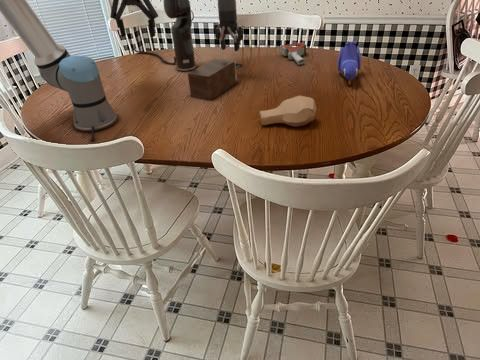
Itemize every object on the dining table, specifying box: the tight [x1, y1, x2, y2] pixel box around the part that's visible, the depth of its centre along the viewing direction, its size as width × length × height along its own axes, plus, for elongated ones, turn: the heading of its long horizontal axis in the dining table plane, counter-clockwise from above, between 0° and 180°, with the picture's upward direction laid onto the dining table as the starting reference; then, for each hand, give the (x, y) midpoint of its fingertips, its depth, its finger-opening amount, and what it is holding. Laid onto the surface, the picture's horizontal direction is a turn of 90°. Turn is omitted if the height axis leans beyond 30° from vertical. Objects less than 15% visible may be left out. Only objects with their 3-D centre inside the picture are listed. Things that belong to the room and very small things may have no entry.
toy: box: [336, 40, 362, 86], centre depth 151 cm, size 10×17×25 cm
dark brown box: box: [187, 58, 237, 101], centre depth 151 cm, size 20×10×10 cm, turn 150°
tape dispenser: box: [279, 42, 307, 66], centre depth 180 cm, size 18×5×20 cm
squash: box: [258, 94, 318, 128], centre depth 122 cm, size 11×20×9 cm, turn 92°
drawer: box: [234, 61, 243, 81], centre depth 154 cm, size 25×9×8 cm, turn 150°
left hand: (138, 36), depth 149 cm, fingers open, 13 cm apart
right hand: (230, 49), depth 156 cm, fingers open, 6 cm apart
